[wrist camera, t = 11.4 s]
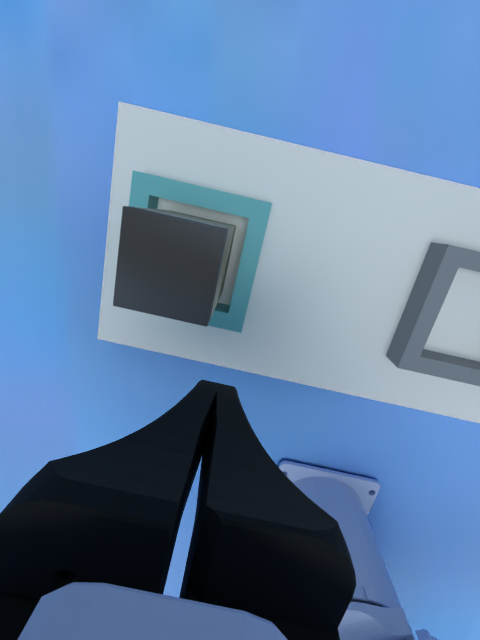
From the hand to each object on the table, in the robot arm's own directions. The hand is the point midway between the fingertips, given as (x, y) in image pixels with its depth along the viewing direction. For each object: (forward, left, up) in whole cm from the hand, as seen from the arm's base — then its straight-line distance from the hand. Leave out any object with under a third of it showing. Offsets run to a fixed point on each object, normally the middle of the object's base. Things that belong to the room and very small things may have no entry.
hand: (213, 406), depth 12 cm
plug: (+4, +3, -9) cm, 11 cm away
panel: (+4, -6, -10) cm, 13 cm away
